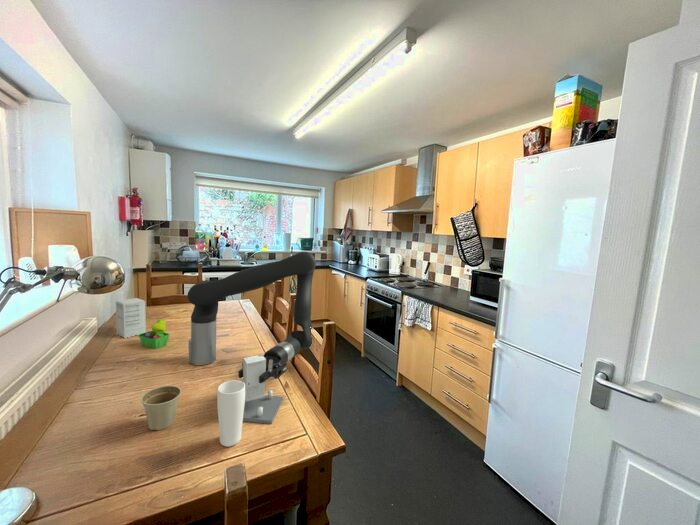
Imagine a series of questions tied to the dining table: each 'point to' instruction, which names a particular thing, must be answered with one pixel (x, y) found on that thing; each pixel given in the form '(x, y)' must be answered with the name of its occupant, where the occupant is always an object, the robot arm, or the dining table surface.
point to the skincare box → (253, 377)
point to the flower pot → (161, 406)
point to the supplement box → (130, 317)
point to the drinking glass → (230, 411)
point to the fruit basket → (155, 336)
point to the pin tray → (262, 408)
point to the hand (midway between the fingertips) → (249, 377)
